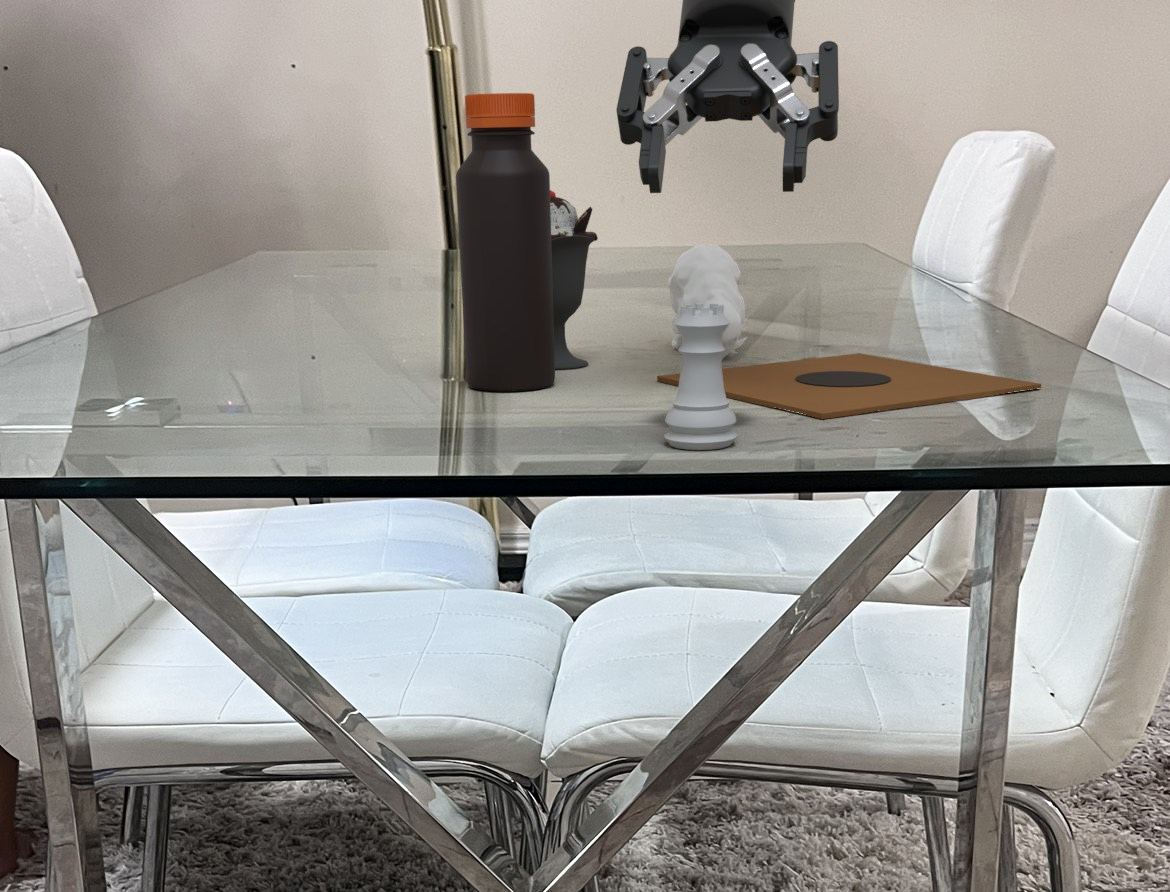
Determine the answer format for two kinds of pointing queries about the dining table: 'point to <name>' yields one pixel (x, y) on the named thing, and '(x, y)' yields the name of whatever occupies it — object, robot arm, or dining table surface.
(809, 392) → the centre mat
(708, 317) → the rook chess piece
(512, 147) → the bottle
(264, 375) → the dining table surface
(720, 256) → the white animal figurine
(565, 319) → the sundae
